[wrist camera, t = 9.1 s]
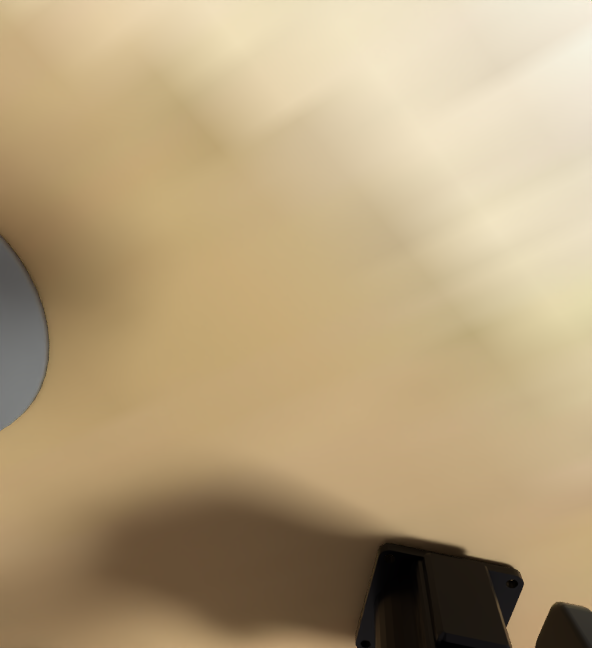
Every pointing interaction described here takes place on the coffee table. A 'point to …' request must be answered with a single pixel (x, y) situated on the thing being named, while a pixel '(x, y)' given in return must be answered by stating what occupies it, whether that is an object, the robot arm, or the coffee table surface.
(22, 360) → the felt mat
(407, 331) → the coffee table surface
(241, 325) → the coffee table surface
